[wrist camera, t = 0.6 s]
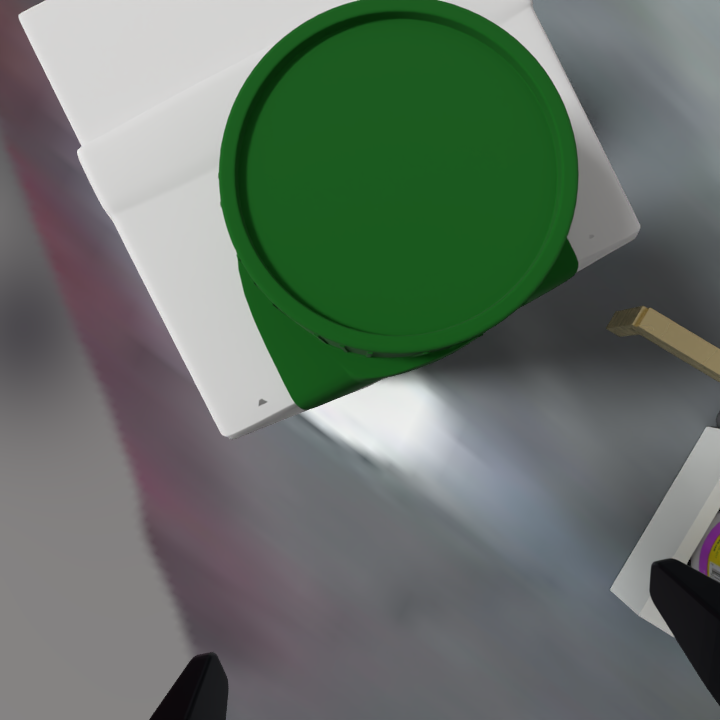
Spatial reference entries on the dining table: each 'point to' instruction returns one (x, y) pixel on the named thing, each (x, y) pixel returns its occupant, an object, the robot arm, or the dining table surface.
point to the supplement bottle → (709, 551)
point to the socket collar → (674, 525)
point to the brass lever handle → (668, 337)
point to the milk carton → (330, 179)
